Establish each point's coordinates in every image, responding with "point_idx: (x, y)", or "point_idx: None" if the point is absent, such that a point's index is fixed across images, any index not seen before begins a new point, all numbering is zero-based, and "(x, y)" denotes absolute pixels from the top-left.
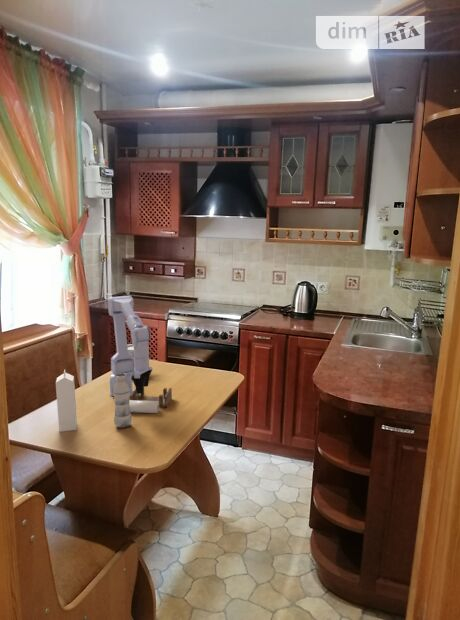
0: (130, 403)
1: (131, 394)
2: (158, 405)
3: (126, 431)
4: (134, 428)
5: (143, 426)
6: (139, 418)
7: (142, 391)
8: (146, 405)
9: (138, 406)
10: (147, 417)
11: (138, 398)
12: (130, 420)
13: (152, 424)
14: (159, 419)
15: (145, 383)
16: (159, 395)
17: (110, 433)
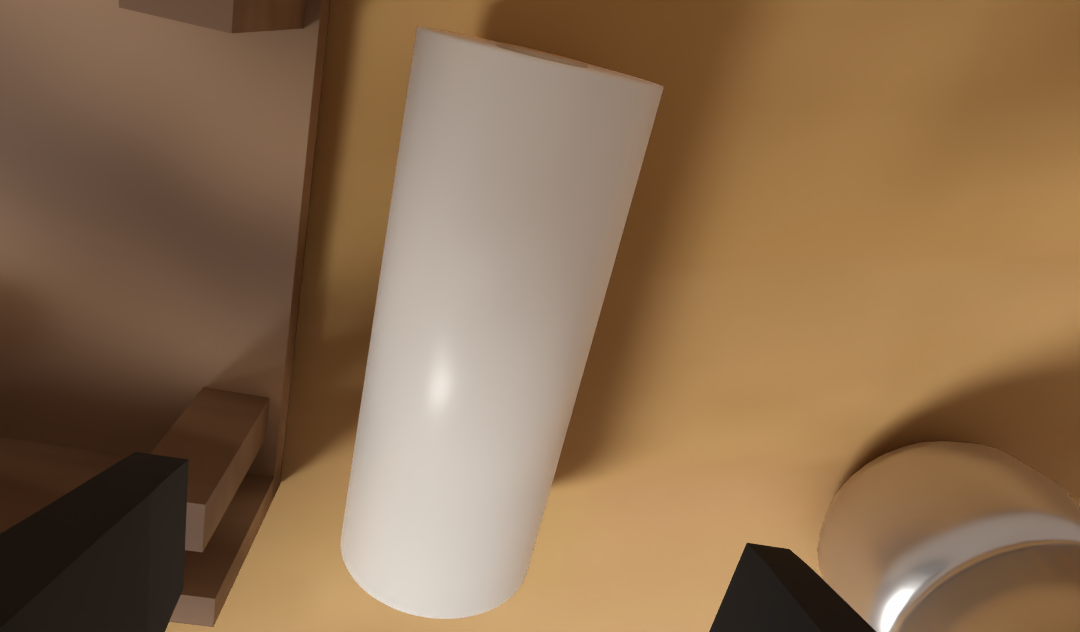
0: (508, 564)
1: None
2: (478, 42)
3: (1068, 455)
4: (1024, 374)
5: (1011, 264)
6: (721, 336)
7: (830, 594)
8: (594, 295)
9: (566, 421)
10: (713, 224)
11: (209, 455)
12: (1048, 479)
13: (996, 135)
14: (846, 18)
15: (131, 592)
16: (185, 18)
17: None
